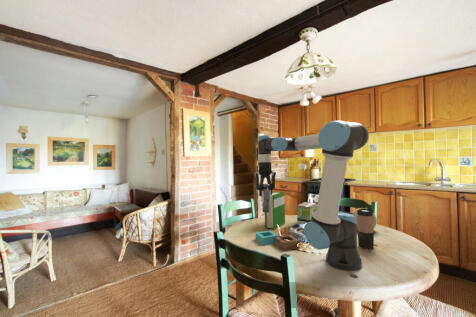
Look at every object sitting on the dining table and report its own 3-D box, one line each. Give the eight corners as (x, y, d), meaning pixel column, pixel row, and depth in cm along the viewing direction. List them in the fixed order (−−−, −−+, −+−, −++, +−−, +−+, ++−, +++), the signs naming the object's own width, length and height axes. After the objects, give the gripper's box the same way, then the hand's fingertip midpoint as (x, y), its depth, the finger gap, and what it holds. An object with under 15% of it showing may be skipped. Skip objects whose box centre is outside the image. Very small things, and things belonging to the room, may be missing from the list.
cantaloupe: (348, 230, 149) (347, 207, 149) (356, 225, 158) (355, 204, 158) (372, 235, 138) (372, 211, 138) (380, 230, 147) (379, 207, 147)
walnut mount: (300, 249, 120) (299, 240, 120) (283, 252, 116) (283, 243, 116) (290, 243, 129) (289, 234, 129) (274, 245, 126) (274, 236, 126)
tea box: (310, 227, 157) (310, 206, 157) (297, 225, 163) (296, 205, 163) (317, 222, 169) (316, 202, 169) (304, 220, 175) (304, 201, 175)
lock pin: (272, 212, 129) (271, 184, 129) (263, 213, 128) (263, 184, 128) (268, 210, 134) (267, 183, 134) (260, 211, 133) (259, 184, 133)
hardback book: (274, 229, 154) (273, 195, 154) (265, 228, 158) (264, 194, 158) (285, 223, 168) (284, 191, 168) (276, 222, 172) (275, 191, 172)
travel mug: (376, 250, 117) (375, 211, 117) (360, 249, 118) (359, 211, 118) (370, 244, 124) (370, 208, 124) (356, 243, 126) (355, 208, 126)
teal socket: (278, 244, 128) (278, 235, 128) (262, 246, 125) (262, 238, 125) (270, 238, 137) (270, 230, 137) (255, 240, 134) (255, 232, 134)
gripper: (274, 161, 137) (275, 199, 137) (249, 162, 132) (250, 201, 132) (280, 161, 130) (281, 201, 130) (253, 162, 125) (254, 203, 125)
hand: (265, 201), depth 131 cm, fingers closed on lock pin, 4 cm apart
